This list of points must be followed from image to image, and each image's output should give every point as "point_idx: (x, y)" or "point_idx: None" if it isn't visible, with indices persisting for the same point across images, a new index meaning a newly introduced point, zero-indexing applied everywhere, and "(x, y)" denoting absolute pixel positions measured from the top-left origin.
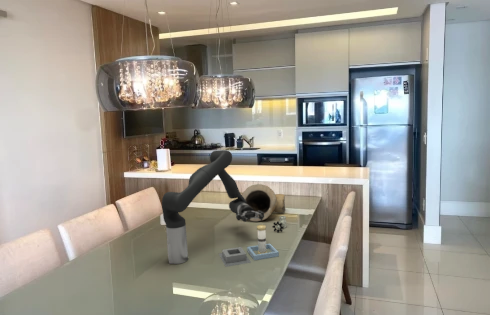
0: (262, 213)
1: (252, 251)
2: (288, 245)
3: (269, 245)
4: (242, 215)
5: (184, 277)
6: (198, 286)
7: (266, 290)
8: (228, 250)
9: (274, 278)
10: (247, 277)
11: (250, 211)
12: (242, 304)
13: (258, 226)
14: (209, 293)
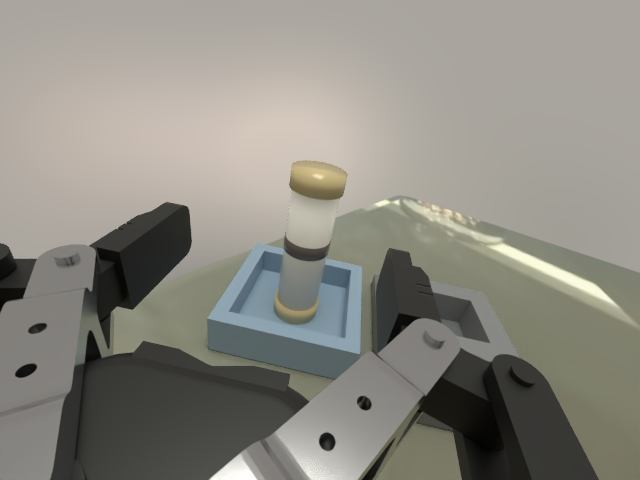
0: (10, 254)
1: (352, 296)
2: None
3: (234, 302)
4: (434, 328)
5: (616, 336)
6: (536, 277)
7: (374, 209)
8: (482, 342)
9: (338, 221)
10: (401, 249)
11: (56, 477)
12: (427, 209)
13: (337, 173)
14: (496, 248)
